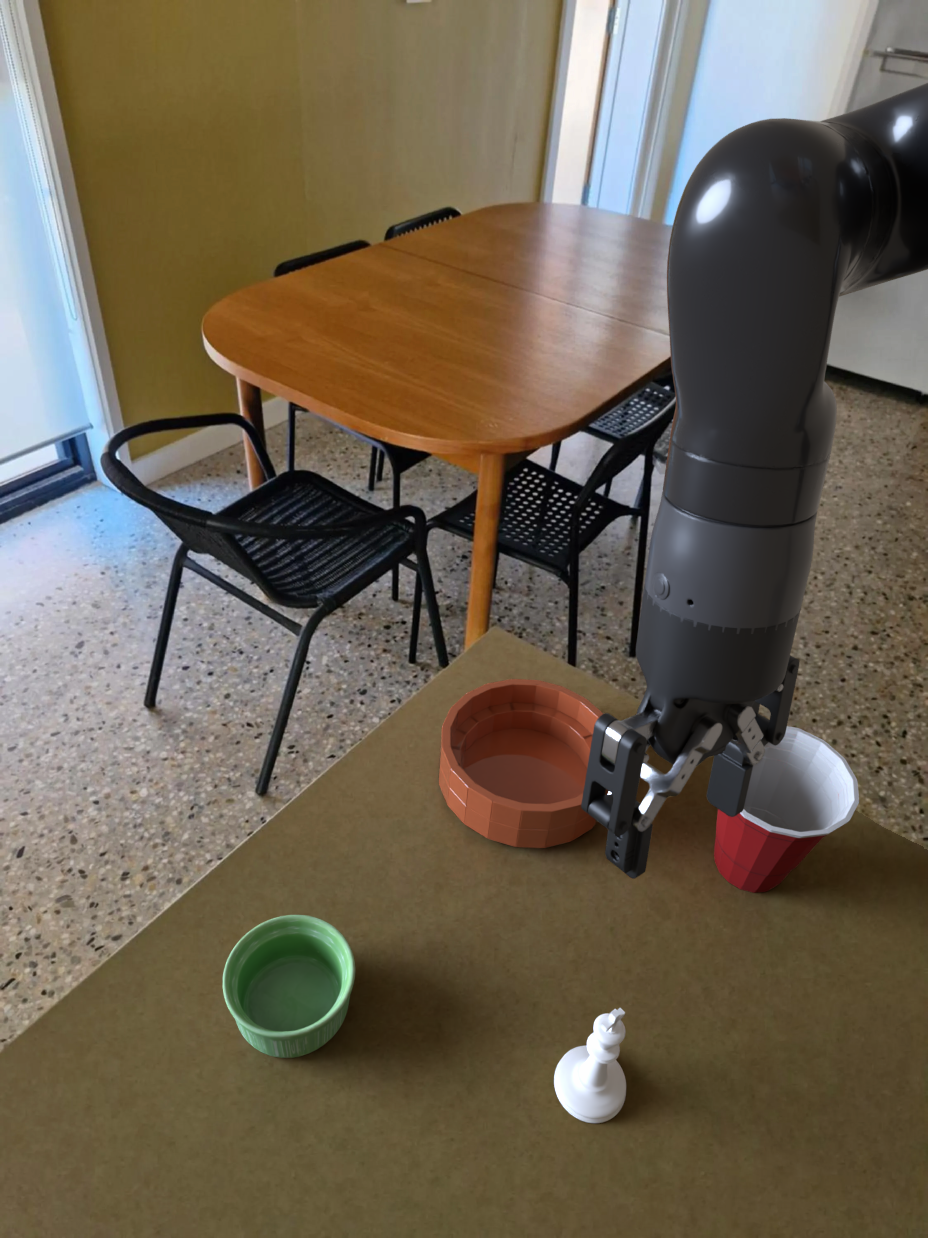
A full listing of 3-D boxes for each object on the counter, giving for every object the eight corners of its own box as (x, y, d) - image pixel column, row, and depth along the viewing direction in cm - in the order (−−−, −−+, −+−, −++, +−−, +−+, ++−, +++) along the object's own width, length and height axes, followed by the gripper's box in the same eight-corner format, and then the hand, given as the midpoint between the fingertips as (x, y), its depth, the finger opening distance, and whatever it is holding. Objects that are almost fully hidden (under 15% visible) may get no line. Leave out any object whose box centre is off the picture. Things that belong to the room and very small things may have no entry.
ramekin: (381, 991, 65) (381, 959, 62) (296, 1095, 59) (293, 1065, 56) (289, 925, 69) (286, 892, 66) (201, 1017, 63) (193, 985, 60)
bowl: (637, 770, 83) (649, 730, 80) (553, 884, 73) (562, 843, 70) (499, 696, 90) (504, 656, 86) (403, 791, 79) (405, 750, 76)
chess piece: (539, 1079, 61) (558, 1006, 55) (588, 1034, 63) (612, 960, 57) (591, 1140, 58) (618, 1071, 52) (640, 1091, 61) (672, 1020, 54)
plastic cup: (656, 857, 76) (688, 763, 68) (729, 795, 82) (766, 702, 74) (764, 948, 70) (812, 856, 62) (835, 874, 76) (887, 781, 68)
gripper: (686, 662, 37) (640, 935, 45) (872, 577, 45) (805, 823, 53) (564, 594, 42) (541, 850, 50) (749, 529, 50) (704, 759, 58)
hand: (676, 836), depth 51 cm, fingers open, 8 cm apart
